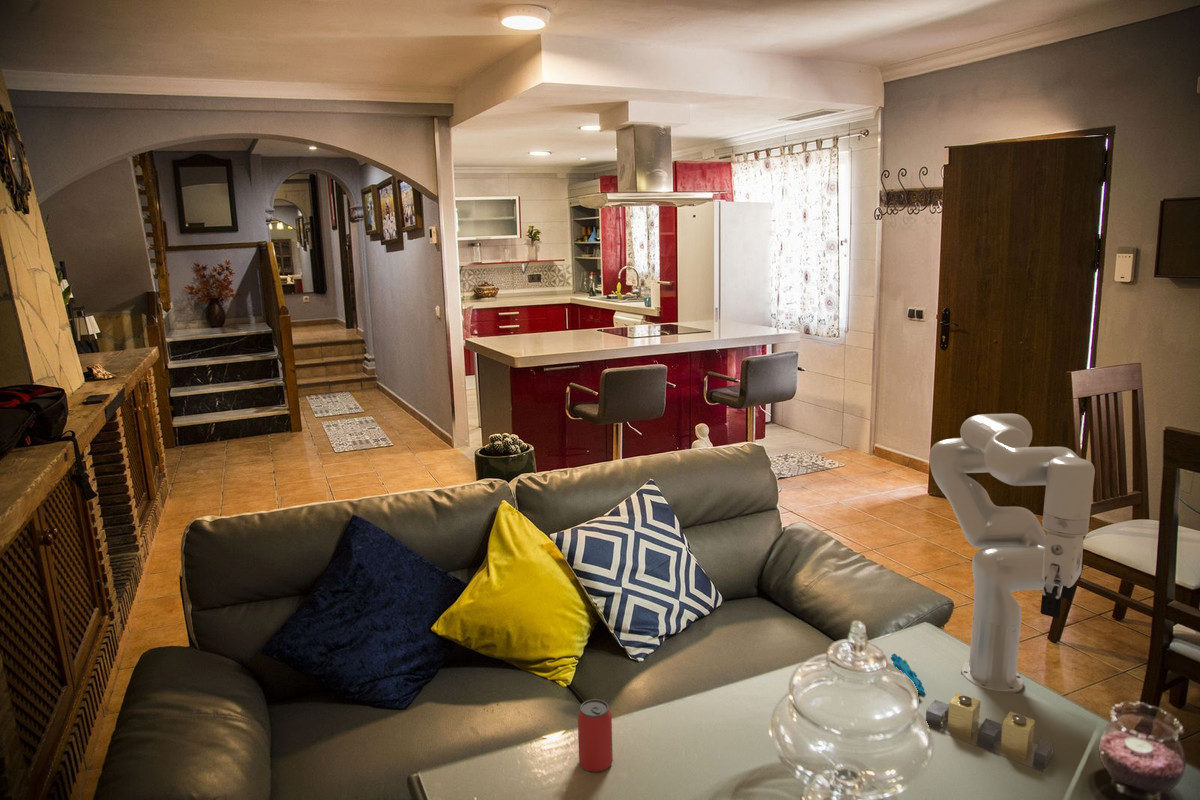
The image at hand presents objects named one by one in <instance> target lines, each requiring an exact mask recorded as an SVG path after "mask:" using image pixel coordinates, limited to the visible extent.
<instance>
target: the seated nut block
mask: <svg viewBox="0 0 1200 800" xmlns="http://www.w3.org/2000/svg"><path fill="white" fill-rule="evenodd" d="M948 704H949V715H948V728H947V729H949V730H951V731H954V732H956V733H959V734H962V735H964V736H967V737H969V738H971V737H972V736H973V734H974V733H975V731H976V730H977V728H978V724H979V723H980V722H979V720H980V710H981V709H980V708H981V700H979V699H976V698H973V697H970V696H968V695H965V694H962V693H961V692H956V693H955V695H953V697H952V699H951V700H950V701H949V703H948Z"/></svg>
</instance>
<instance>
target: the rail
mask: <svg viewBox="0 0 1200 800" xmlns="http://www.w3.org/2000/svg"><path fill="white" fill-rule="evenodd" d="M948 715H949V703H946V702H943V701H940V700H937V699H934V700H933V702H932V703H931V704H930V705H929V706H928V708H926V711H925V721H927V723H928V725H929V727H930V728H929V727H928V728H929V729H932V730H934V731H938V732H939V733H942V734H946V735H948V736H950V737H952V738H954V739H958V740H959V741H962V742H966V743H968V744H970V745H973V746H974V747H975V746H976V747H978V748H981V749H983V750H985V751H989V752H991V753H993V754H996V755H998V756H1001V757H1002V758H1006V759H1008V760H1011V761H1013V762H1016V763H1019V764H1021V765H1024V766H1027V767H1029V768H1032V769H1033V770H1035V771H1036V770H1037V771H1039V772H1042V773H1044V771H1045V769H1046V767H1047V765H1048V763H1049V761H1050V759H1051V757H1052V755H1053V753H1054V750H1053V748H1054V747H1053V745H1054V742H1052V741H1049V740H1046V739H1044V738H1040V740H1039V743H1038V744H1037V743H1034V742H1033V746H1032V749H1031V751H1030V753H1029V755H1028V757H1027V759H1024V758H1021V757H1019V756H1016V755H1013V754H1011V753H1008V752H1005V751H1003V750H1001V739H1002V728H1003V723H1001V722H997V721H995V720H992V719H988V718H985V719H984V721H983V722H982V723H981V722H979V724H978V728H977V730H976V731H975V733H974V734H973V736H972V737H971V738H969V737H967V736H964V735H962V734H959V733H956V732H954V731H951V730H949V729H947V728H948Z"/></svg>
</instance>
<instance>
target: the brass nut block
mask: <svg viewBox="0 0 1200 800" xmlns="http://www.w3.org/2000/svg"><path fill="white" fill-rule="evenodd" d="M1035 726H1036V720H1035V719H1033V718H1031V717H1027V716H1025V715H1022V714H1019V713H1017V712H1013V711H1008V714H1006V716H1005V718H1004V720H1003V722H1002V739H1001V750H1003V751H1005V752H1008V753H1011V754H1013V755H1016V756H1019V757H1021V758H1024V759H1027V757H1028V755H1029V753H1030V751H1031V749H1032V746H1033V743H1034V736H1035V735H1034V734H1035Z"/></svg>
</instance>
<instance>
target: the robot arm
mask: <svg viewBox="0 0 1200 800" xmlns="http://www.w3.org/2000/svg"><path fill="white" fill-rule="evenodd" d="M959 433H960V437H953V438H947V439H942V440H940V441H937V442H935V443H934V444H933V445H932V447H931V449H930V452H929V455H928V456H929V467H930V471H931V475H932V477H933V479H934V481H935V484H936V485H937V486H938V488H939V489H940V490H941V491H940V492H942V494H944V496H945V498H946V499H947V500H948V502H949V504H950V506H951V508H952V510H953V514H954V515H955V517H956V519H957V521H958V524H959V527H960V528H961V531H962V533H963V536H964V537H965V539H966V541H967V542H968V543H969V545H970V546H971V547H973V548H975V549H980V550H978V551H977V552H975V553H974V555H973V557H972V561H971V567H972V577H973V583H974V584H973V587H974V588H973V589H974V590H973V591H974V595H973V596H974V599H973V610H972V611H973V613H972V614H973V615H972V625H971V637H970V639H971V640H970V650H969V660H968V661H967V662H964V664H962V665H961V669H960V675H962V676H963V677H964V678H965V679H966V680H967V681H969V682H970V683H972V684H973V685H975V686H978V687H980V688H983V689H986V690H990V691H994V692H995V691H996V692H1011V693H1014V694H1016V693H1018V692H1020V691H1021V690H1022V689H1023V688H1024V679H1023V677H1022V675H1021V674H1020V673H1019V672H1018V671H1017V670H1018V660H1019V647H1020V637H1021V629H1022V628H1021V627H1022V626H1021V625H1022V617H1023V616H1022V608H1021V605H1020V603H1019V602H1018V600H1017V599H1016V598H1015V597H1014V596H1013V593H1014V592H1019V591H1020V592H1021V591H1039V590H1042V594H1041V600H1040V601H1041V602H1040V614H1042V615H1044V616H1048V617H1052V618H1054V619H1060V618H1061V612H1062V603H1063V599H1065V600H1069V601H1070V600H1072V599H1073V597H1074V587H1075V583H1076V582H1077V580H1078V579H1079V577H1081V575H1082V574H1081V573H1082V571H1083V570H1082V567H1083V555H1084V554H1083V552H1084V551H1083V550H1084V537H1086V536H1087V535H1088V534H1089V526H1090V521H1091V520H1090V519H1091V518H1090V517H1091V511H1092V510H1091V509H1092V501H1093V490H1094V483H1095V473H1096V470H1095V466H1094V465H1093V463H1092V462H1091V461H1089V460H1088V459H1084V458H1081V457H1080V456H1078V455H1077V454H1076V452H1075V451H1073V450H1072V449H1071V448H1068V447H1064V446H1030V444H1031V442H1032V439H1033V429H1032V425H1031V423H1030V421H1028V419H1027V418H1026V417H1024V416H1023V415H1021V414H1017V413H985V414H983V413H982V414H976V415H973V416H970V417H968V418H967V419H965V420H964V422H963V423H962V424H961V427H960V431H959ZM978 473H980V474H981V473H983V474H984V473H989V474H990V475H991V476H992V477H994V478H996V479H997V480H998V481H1000V482H1002V483H1004V484H1007V485H1010V486H1014V487H1016V486H1017V487H1026V486H1027V487H1028V486H1045V490H1044V491H1045V492H1044V493H1045V494H1044V501H1043V502H1044V504H1043V513H1042V523H1040V521H1039V519H1038V518H1037V516H1036V514H1034V512H1032V511H1031V510H1030V509H1028V508H1026V507H1022V506H1014V505H1013V506H998V505H996V504H994V502H993V501H992V500H991V498H990V496H989V493H988V491H987V490H986V489H985V488H984V487H983V486H982V485H981V484H980V483H979V482H978V481H976V480H975V479H974V478H972V477H971V476H968V475H967V474H978ZM1046 532H1047V534H1046Z"/></svg>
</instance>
